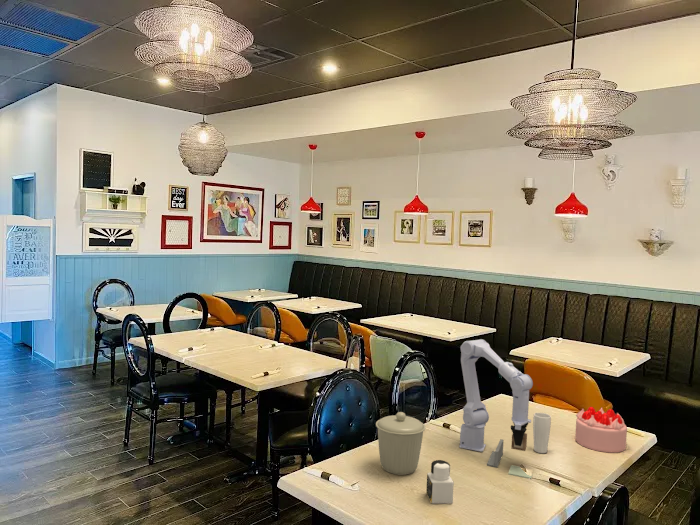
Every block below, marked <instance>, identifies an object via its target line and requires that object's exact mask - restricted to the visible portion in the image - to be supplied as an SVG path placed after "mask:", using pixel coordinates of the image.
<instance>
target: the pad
mask: <svg viewBox="0 0 700 525" xmlns="http://www.w3.org/2000/svg"><path fill="white" fill-rule="evenodd" d="M520 467H521V466H517V465H514V464H513V465H510V467H509V470H508V473H507V474H508V475H510V476H515V477H520V478H525V479H529V478H530V480H531V479H532V478H533V475H532V476H529V475H527V474H526V473H525V472H524V471H523V470H522V469H521V468H520Z"/></svg>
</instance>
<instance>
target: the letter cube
mask: <svg viewBox="0 0 700 525" xmlns="http://www.w3.org/2000/svg"><path fill="white" fill-rule="evenodd" d="M527 446H528V433H526V432H525V433H524V436H523V440H522V444H521V446H517V445H515V442H514V436H513V433H512V434H511V446H510V447H511V449H512V450H517V451H523V452H526V450H527Z"/></svg>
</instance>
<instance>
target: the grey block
mask: <svg viewBox="0 0 700 525" xmlns="http://www.w3.org/2000/svg"><path fill="white" fill-rule="evenodd" d="M504 440H505V439H501V438H500V439H499V441H498V443H497V446H496V448H495V451H494V450H493V451H492V452H491V453H490V456H489V458H488V461H487V462H486V466H488V467H493V468H496V469H497V468H499V465H500V464H501V463H500V462H501V460H502V458H503V455H504ZM501 457H502V458H501Z"/></svg>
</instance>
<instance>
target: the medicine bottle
mask: <svg viewBox="0 0 700 525" xmlns="http://www.w3.org/2000/svg"><path fill="white" fill-rule="evenodd" d="M430 465H431V466H430V467H431V468H430V472H427V473H426V495H427V497H428V500H429V501H430V503H431V504H454V503H453V502H454V481H453V478H452V477H451V476H450V475H451V465H450V463H449V462H448V461H445V460H442V459H436V460H433V461H432V462H431V464H430Z"/></svg>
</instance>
